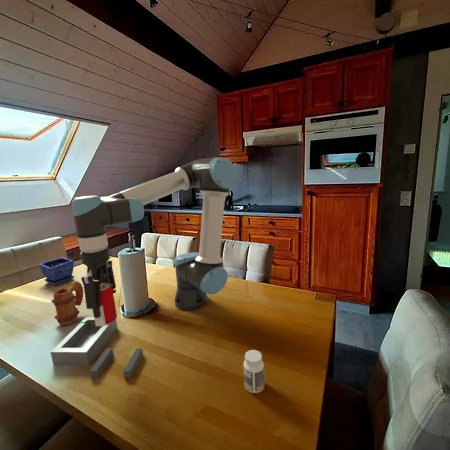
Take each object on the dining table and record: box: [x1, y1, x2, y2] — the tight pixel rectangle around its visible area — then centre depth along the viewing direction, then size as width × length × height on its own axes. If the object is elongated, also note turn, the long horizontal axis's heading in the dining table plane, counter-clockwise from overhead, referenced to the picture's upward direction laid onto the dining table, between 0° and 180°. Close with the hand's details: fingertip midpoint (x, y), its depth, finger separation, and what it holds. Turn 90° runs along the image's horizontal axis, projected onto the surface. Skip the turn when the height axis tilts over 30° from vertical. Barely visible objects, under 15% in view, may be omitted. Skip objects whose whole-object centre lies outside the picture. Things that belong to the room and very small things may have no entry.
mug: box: [50, 281, 84, 326], centre depth 111 cm, size 15×8×15 cm, turn 168°
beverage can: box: [101, 283, 118, 326], centre depth 81 cm, size 6×6×12 cm
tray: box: [50, 316, 118, 367], centre depth 94 cm, size 12×20×5 cm, turn 176°
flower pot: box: [39, 257, 75, 287], centre depth 151 cm, size 13×13×12 cm
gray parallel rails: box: [89, 347, 144, 379], centre depth 84 cm, size 12×10×2 cm
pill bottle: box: [242, 349, 265, 394], centre depth 73 cm, size 6×6×10 cm
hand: (106, 318), depth 82 cm, fingers closed on beverage can, 6 cm apart
